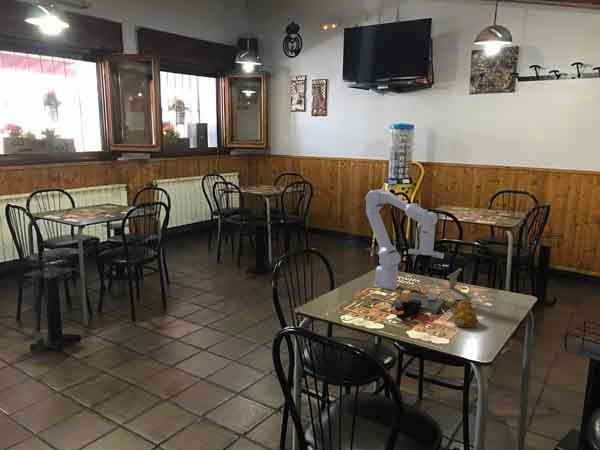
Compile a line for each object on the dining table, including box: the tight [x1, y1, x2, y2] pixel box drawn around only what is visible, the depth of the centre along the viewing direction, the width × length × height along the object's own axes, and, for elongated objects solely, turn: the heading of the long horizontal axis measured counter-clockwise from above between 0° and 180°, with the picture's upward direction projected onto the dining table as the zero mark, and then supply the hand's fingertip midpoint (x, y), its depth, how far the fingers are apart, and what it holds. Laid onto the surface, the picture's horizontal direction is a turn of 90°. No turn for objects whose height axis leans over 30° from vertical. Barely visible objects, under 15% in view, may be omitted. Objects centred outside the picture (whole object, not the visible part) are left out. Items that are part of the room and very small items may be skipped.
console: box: [392, 292, 446, 315], centre depth 193 cm, size 17×15×2 cm
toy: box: [394, 300, 422, 321], centre depth 179 cm, size 15×5×7 cm, turn 140°
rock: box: [452, 300, 479, 328], centre depth 174 cm, size 11×8×10 cm
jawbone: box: [447, 267, 472, 301], centre depth 204 cm, size 14×8×15 cm
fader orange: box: [400, 289, 412, 302], centre depth 191 cm, size 2×4×4 cm, turn 150°
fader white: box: [427, 288, 438, 300], centre depth 194 cm, size 2×4×4 cm, turn 150°
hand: (424, 272), depth 202 cm, fingers closed
